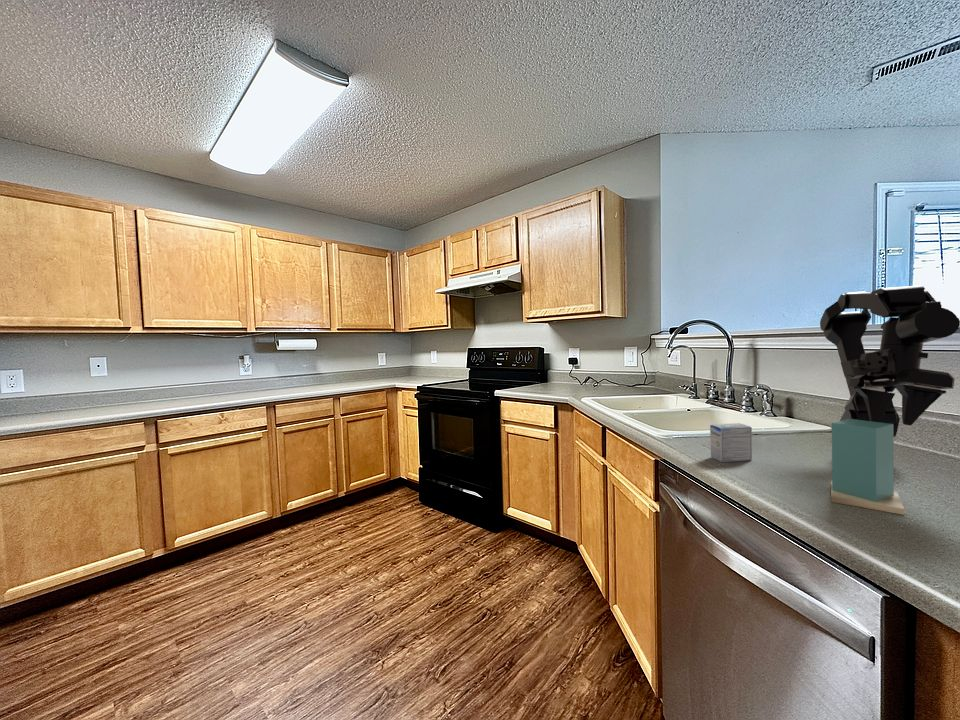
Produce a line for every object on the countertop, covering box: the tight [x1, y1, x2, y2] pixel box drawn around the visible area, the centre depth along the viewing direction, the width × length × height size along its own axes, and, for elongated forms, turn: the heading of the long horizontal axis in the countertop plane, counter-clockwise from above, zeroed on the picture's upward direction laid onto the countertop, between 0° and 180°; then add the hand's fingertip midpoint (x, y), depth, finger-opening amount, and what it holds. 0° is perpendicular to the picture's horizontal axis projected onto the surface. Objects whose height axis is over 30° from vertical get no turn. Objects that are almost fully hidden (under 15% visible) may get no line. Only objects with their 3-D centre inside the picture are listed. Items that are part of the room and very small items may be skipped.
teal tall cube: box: [831, 419, 895, 502], centre depth 71 cm, size 6×6×13 cm
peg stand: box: [830, 480, 905, 516], centre depth 70 cm, size 10×9×4 cm
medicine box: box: [709, 422, 753, 463], centre depth 96 cm, size 8×4×9 cm, turn 92°
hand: (889, 423), depth 76 cm, fingers open, 9 cm apart
